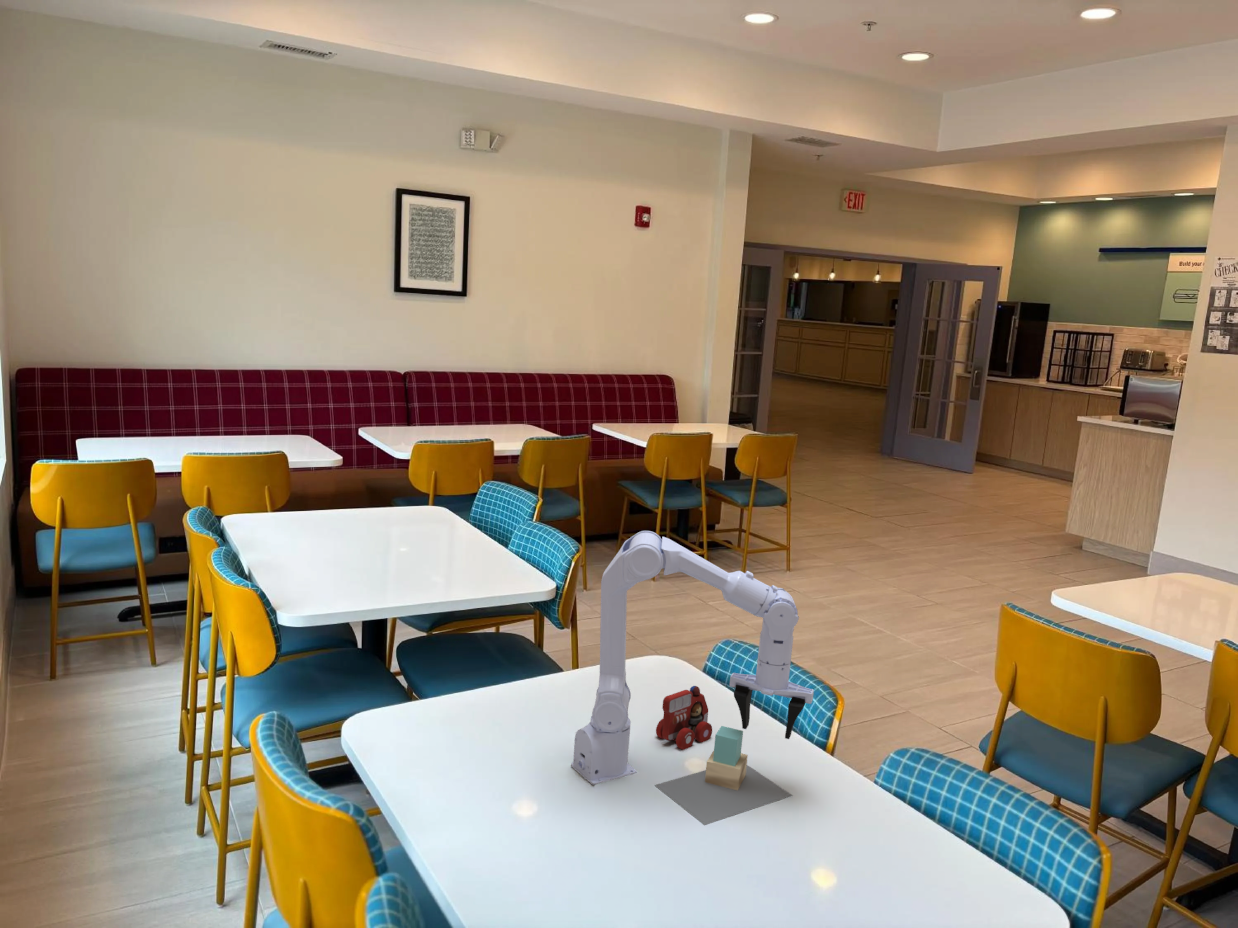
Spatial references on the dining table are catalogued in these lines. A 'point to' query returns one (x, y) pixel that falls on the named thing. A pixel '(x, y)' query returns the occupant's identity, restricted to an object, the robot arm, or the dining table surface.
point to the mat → (721, 795)
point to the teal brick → (728, 746)
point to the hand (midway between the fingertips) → (766, 731)
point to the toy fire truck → (685, 718)
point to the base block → (726, 772)
